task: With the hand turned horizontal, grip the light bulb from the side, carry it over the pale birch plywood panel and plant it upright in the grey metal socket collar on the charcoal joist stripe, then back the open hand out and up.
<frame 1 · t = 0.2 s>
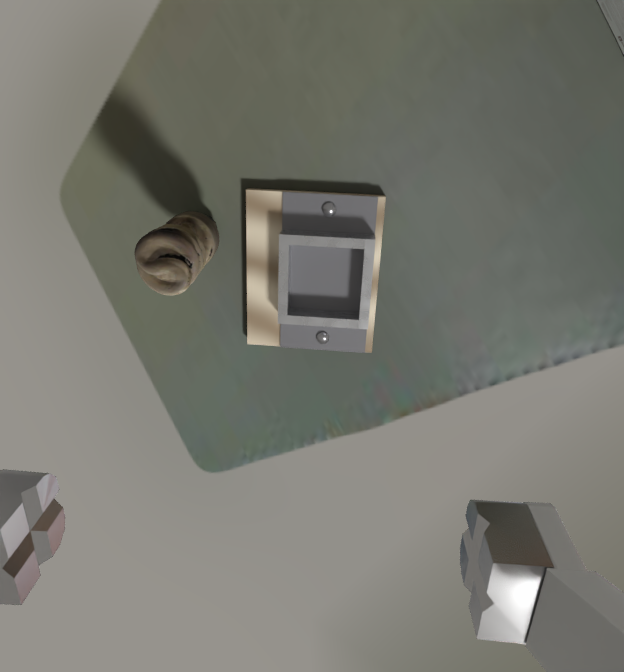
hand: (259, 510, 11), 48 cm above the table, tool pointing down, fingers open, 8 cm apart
light bulb: (207, 228, 57), on the table
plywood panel: (312, 272, 58), on the table
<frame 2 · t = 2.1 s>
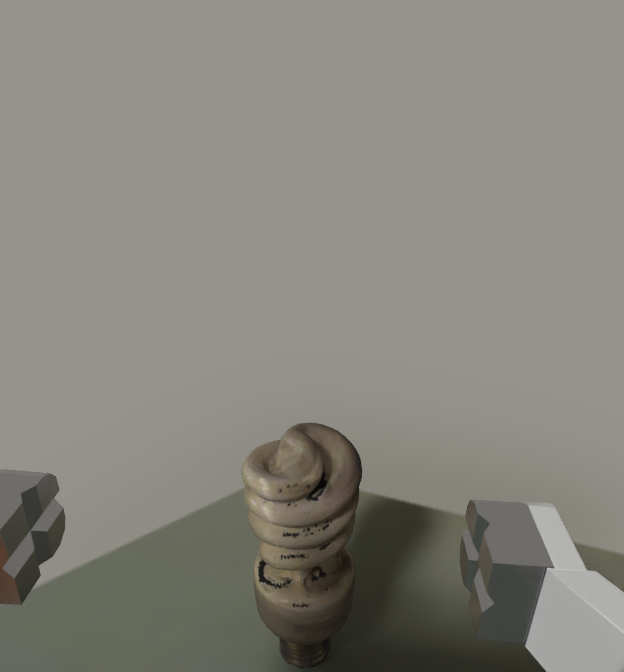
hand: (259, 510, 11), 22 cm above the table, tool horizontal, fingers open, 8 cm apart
light bulb: (299, 659, 31), on the table
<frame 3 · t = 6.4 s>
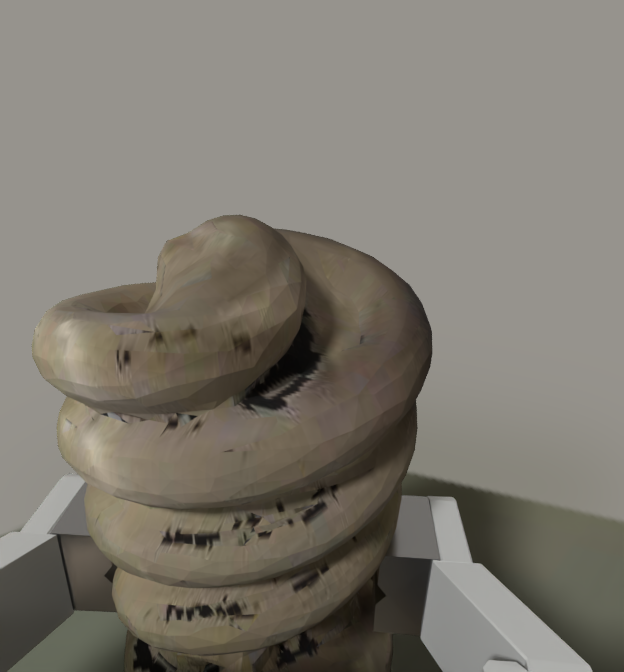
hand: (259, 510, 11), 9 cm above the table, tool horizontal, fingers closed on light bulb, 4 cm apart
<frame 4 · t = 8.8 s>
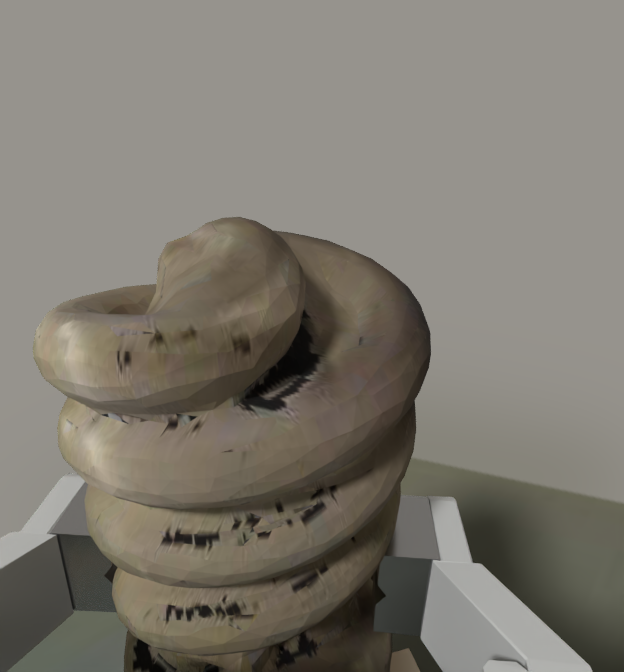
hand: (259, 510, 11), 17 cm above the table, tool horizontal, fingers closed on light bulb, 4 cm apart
when the fingers open (12 cm above the table, at t = 11.2 s): light bulb stays where it is, point 3 cm above the table.
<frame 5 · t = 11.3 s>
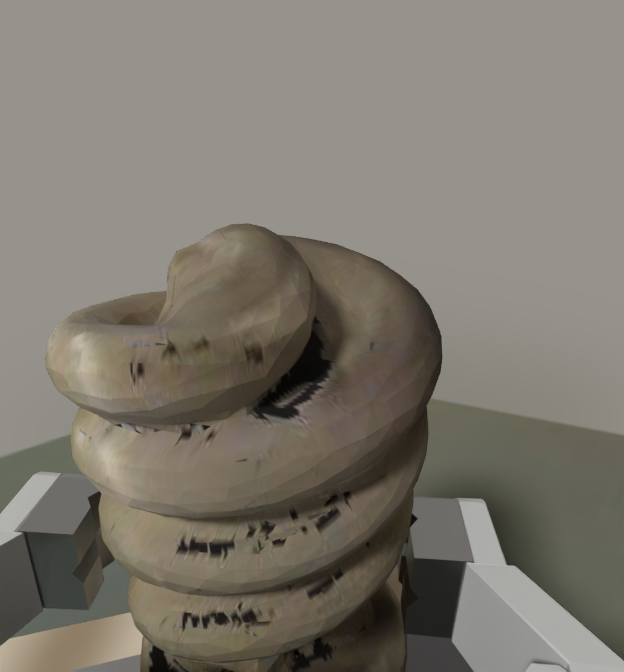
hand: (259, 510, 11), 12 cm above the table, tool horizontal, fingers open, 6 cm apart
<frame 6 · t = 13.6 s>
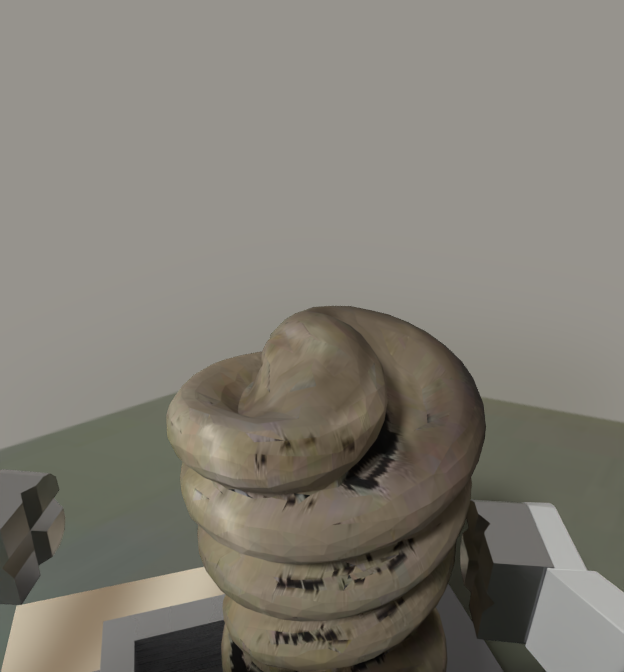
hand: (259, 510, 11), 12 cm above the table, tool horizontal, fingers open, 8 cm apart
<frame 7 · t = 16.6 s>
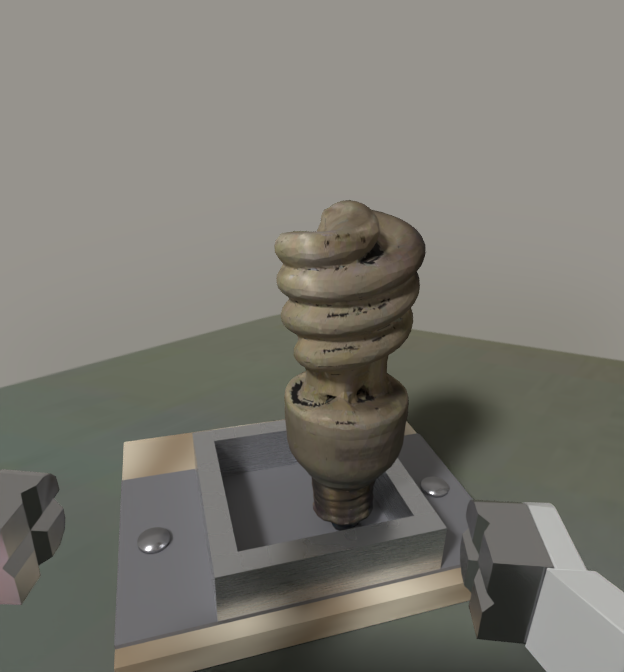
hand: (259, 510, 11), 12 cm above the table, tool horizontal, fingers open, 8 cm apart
light bulb: (335, 524, 26), point 1 cm above the table, touching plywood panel
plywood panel: (295, 514, 28), on the table
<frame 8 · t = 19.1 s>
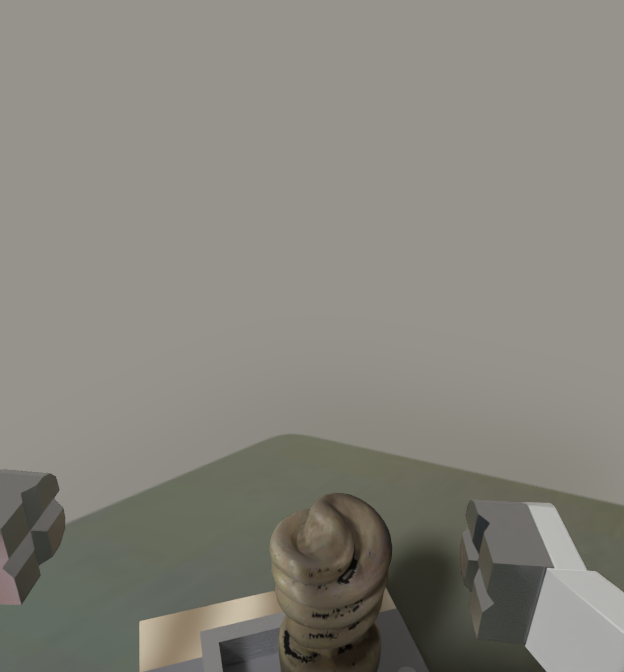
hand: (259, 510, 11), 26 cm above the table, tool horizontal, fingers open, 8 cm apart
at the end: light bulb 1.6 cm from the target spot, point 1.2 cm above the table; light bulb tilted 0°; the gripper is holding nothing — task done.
